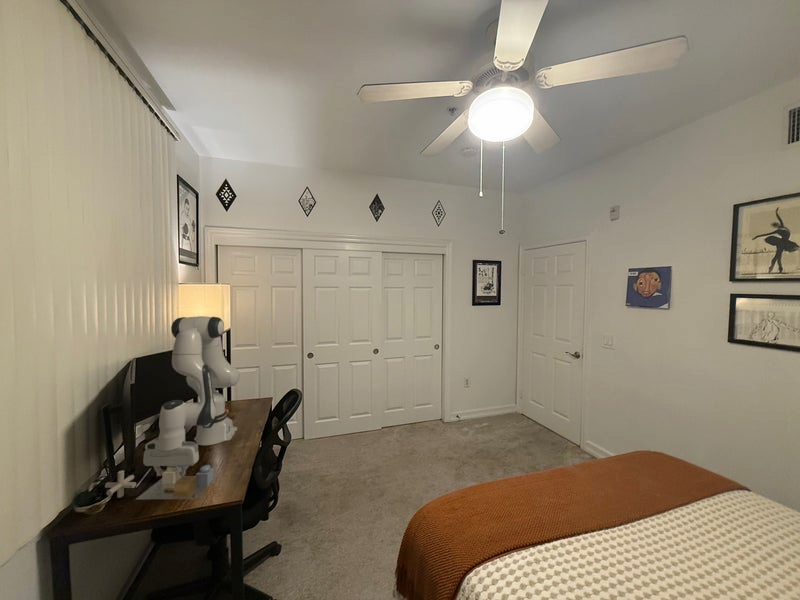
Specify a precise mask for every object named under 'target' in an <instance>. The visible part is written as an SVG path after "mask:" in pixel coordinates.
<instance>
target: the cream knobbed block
mask: <svg viewBox="0 0 800 600" xmlns="http://www.w3.org/2000/svg"><path fill="white" fill-rule="evenodd" d="M180 471H181V467H177V466H166V469H165V470H163V473H162V475H161V476H162V478H161V479H162V484H174V483H175V482H176V481H177V480H178V479H179V478H180V477H181V476H179V475H180V474H179V472H180Z"/></svg>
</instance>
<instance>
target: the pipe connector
mask: <svg viewBox="0 0 800 600" xmlns="http://www.w3.org/2000/svg"><path fill="white" fill-rule="evenodd" d="M134 479H135V475H134V474H130V475H129V476H127V477H126V478H125V470H119V471H118V472H117V481H115V482H113V481H107V482H106V483H105V485H104V488H105V489H108V490H107V491H106V494H105V495H106V496H111V495H113V494H114V493H116V492H117V493H116V495H117V498H123V497H124V495H125V491H124V490H125V489H134V488H135V487H136V486H137V482H135V481H133V480H134Z"/></svg>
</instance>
